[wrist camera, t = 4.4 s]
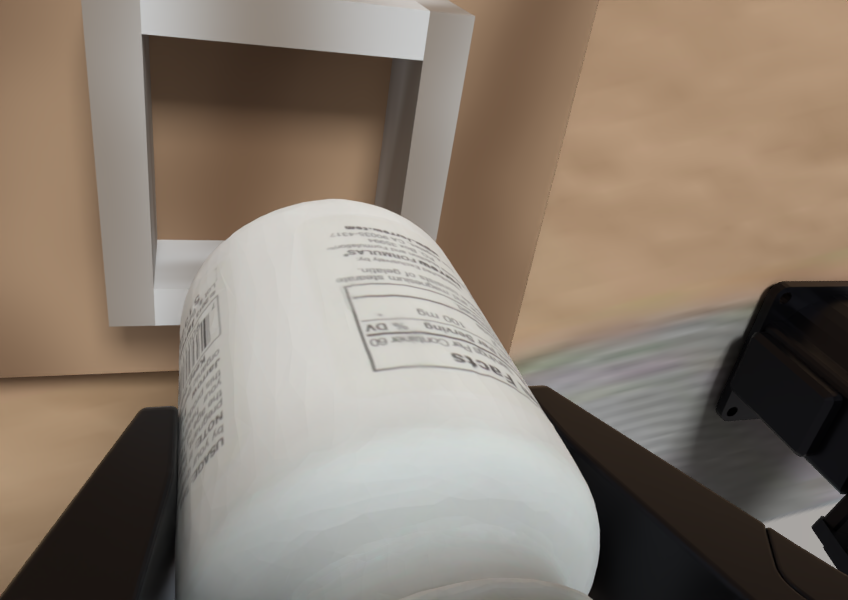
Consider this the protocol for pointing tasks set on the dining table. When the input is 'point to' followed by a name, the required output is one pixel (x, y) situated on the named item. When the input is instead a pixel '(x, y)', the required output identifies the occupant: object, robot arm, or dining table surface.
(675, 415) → the dining table surface
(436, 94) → the board
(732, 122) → the dining table surface
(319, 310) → the pill bottle
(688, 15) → the dining table surface
